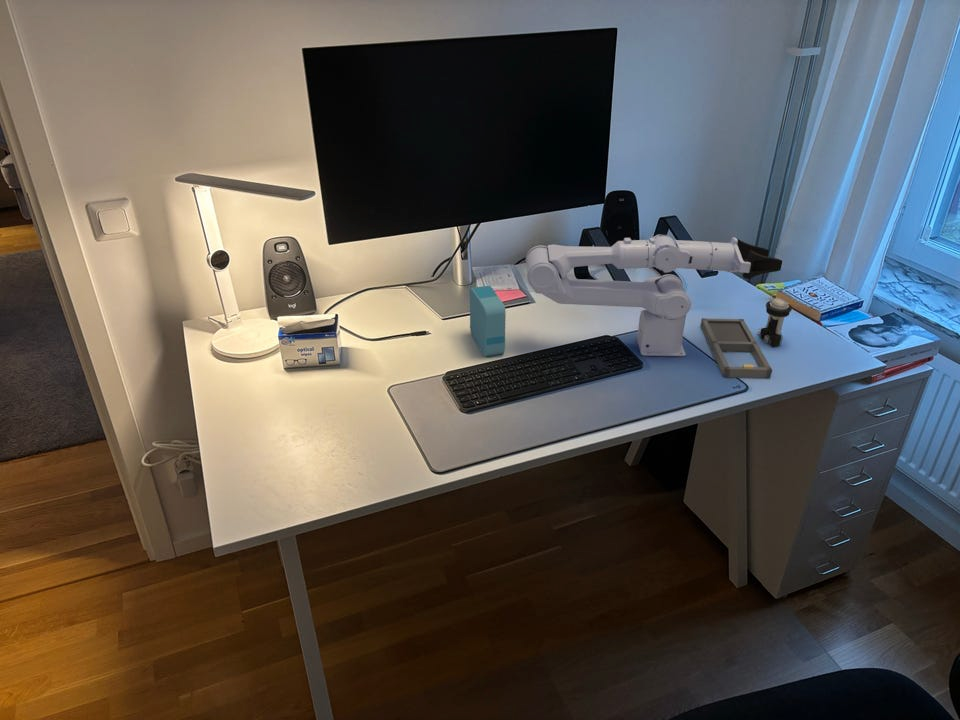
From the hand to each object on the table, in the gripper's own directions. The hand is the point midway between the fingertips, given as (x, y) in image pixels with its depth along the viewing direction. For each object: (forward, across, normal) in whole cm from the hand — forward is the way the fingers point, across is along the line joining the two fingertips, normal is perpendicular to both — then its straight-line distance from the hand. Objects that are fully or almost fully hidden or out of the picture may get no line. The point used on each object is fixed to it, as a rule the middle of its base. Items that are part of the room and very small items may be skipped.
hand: (774, 259), depth 150 cm
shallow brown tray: (-4, +2, +21) cm, 22 cm away
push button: (+5, +6, +20) cm, 22 cm away
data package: (-58, +4, +24) cm, 63 cm away
